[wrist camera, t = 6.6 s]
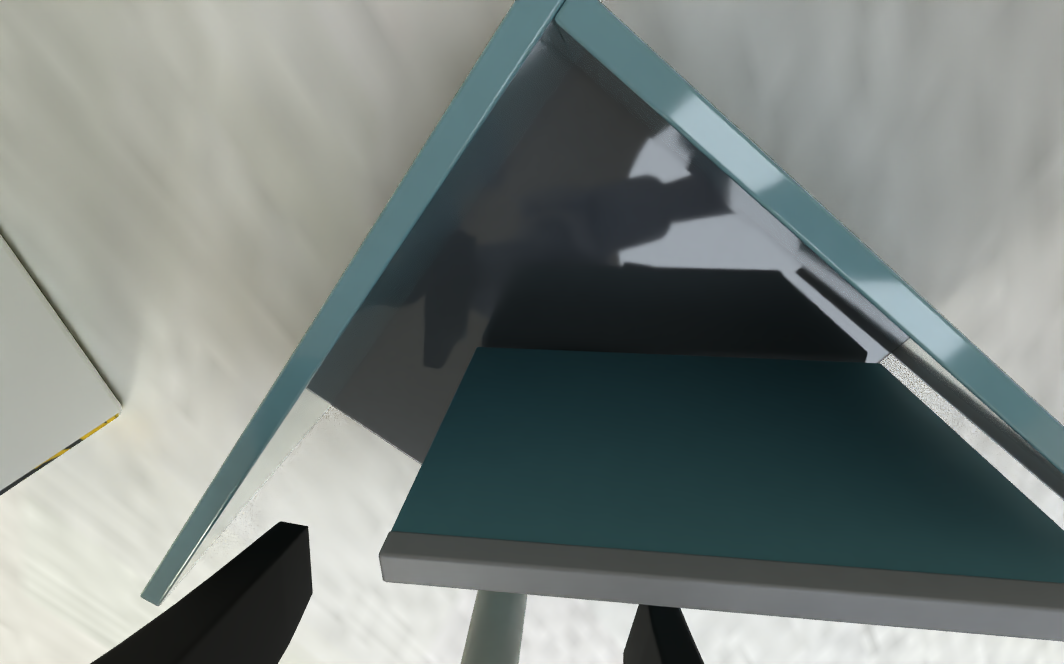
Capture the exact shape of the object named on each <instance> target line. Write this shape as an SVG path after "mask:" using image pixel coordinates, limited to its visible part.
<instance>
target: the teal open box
mask: <svg viewBox="0 0 1064 664" xmlns="http://www.w3.org/2000/svg"><path fill="white" fill-rule="evenodd" d="M477 347H491V348H515V349H540V350H564V351H589V352H613V353H638V354H662V355H687V356H712V357H736V358H761V359H785V360H810V361H834V362H859V363H879V362H880V361H882V360H883V359H884V358H886V357H887V356H888V355H889V354H891V355H892V356H894V357H895V358H896V359H897V360H898V361H900V362H901V363H902V364H903V365H904V366H905V367H907V368H908V369H909V370H910V371H911V372H913V373H914V374H915V375H916V376H917V377H918V378H920V379H921V380H922V381H923V382H924V383H925V384H927V385H928V386H929V387H930V388H931V389H933V390H934V391H935V392H936V393H937V394H938V395H940V396H941V397H942V398H943V399H944V400H946V401H947V402H948V403H949V404H950V405H951V406H953V407H954V408H955V409H956V410H957V411H958V412H960V413H961V414H962V415H963V416H964V417H966V418H967V419H968V420H969V421H970V422H971V423H973V424H974V425H975V426H976V427H977V428H979V429H980V430H981V431H982V432H983V433H984V434H986V435H987V436H988V437H989V438H990V439H992V440H993V441H994V442H995V443H996V444H997V445H999V446H1000V447H1001V448H1002V449H1003V450H1004V451H1006V452H1007V453H1008V454H1009V455H1010V456H1012V457H1013V458H1014V459H1015V460H1016V461H1017V462H1019V463H1020V464H1021V465H1022V466H1023V467H1025V468H1026V469H1027V470H1028V471H1029V472H1030V473H1032V474H1033V475H1034V476H1035V477H1036V478H1037V479H1039V480H1040V481H1041V482H1042V483H1043V484H1045V485H1046V486H1047V487H1048V488H1049V489H1050V490H1052V491H1053V492H1054V493H1055V494H1056V495H1058V496H1059V497H1060V498H1061V499H1062V500H1063V501H1064V426H1063V425H1062V424H1061V423H1060V422H1059V421H1057V420H1056V419H1055V418H1054V417H1053V416H1052V415H1051V414H1050V413H1049V412H1048V411H1047V410H1045V409H1044V408H1043V407H1042V406H1041V405H1040V404H1039V403H1038V402H1037V401H1036V400H1035V399H1033V398H1032V397H1031V396H1030V395H1029V394H1028V393H1027V392H1026V391H1025V390H1024V389H1023V388H1021V387H1020V386H1019V385H1018V384H1017V383H1016V382H1015V381H1014V380H1013V379H1012V378H1011V377H1009V376H1008V375H1007V374H1006V373H1005V372H1004V371H1003V370H1002V369H1001V368H1000V367H999V366H997V365H996V364H995V363H994V362H993V361H992V360H991V359H990V358H989V357H988V356H987V355H985V354H984V353H983V352H982V351H981V350H980V349H979V348H978V347H977V346H976V345H975V344H973V343H972V342H971V341H970V340H969V339H968V338H967V337H966V336H965V335H964V334H962V333H961V332H960V331H959V330H958V329H957V328H956V327H955V326H954V325H953V324H952V323H950V322H949V321H948V320H947V319H946V318H945V317H944V316H943V315H942V314H941V313H940V312H938V311H937V310H936V309H935V308H934V307H933V306H932V305H931V304H930V303H929V302H928V301H926V300H925V299H924V298H923V297H922V296H921V295H920V294H919V293H918V292H917V291H916V290H914V289H913V288H912V287H911V286H910V285H909V284H908V283H907V282H906V281H905V280H904V279H902V278H901V277H900V276H899V275H898V274H897V273H896V272H895V271H894V270H893V269H892V268H890V267H889V266H888V265H887V264H886V263H885V262H884V261H883V260H882V259H881V258H880V257H878V256H877V255H876V254H875V253H874V252H873V251H872V250H871V249H870V248H869V247H868V246H866V245H865V244H864V243H863V242H862V241H861V240H860V239H859V238H858V237H857V236H856V235H854V234H853V233H852V232H851V231H850V230H849V229H848V228H847V227H846V226H845V225H844V224H842V223H841V222H840V221H839V220H838V219H837V218H836V217H835V216H834V215H833V214H832V213H830V212H829V211H828V210H827V209H826V208H825V207H824V206H823V205H822V204H821V203H820V202H818V201H817V200H816V199H815V198H814V197H813V196H812V195H811V194H810V193H809V192H808V191H806V190H805V189H804V188H803V187H802V186H801V185H800V184H799V183H798V182H797V181H796V180H794V179H793V178H792V177H791V176H790V175H789V174H788V173H787V172H786V171H785V170H784V169H782V168H781V167H780V166H779V165H778V164H777V163H776V162H775V161H774V160H773V159H772V158H770V157H769V156H768V155H767V154H766V153H765V152H764V151H763V150H762V149H761V148H759V147H758V146H757V145H756V144H755V143H754V142H753V141H752V140H751V139H750V138H749V137H747V136H746V135H745V134H744V133H743V132H742V131H741V130H740V129H739V128H738V127H737V126H735V125H734V124H733V123H732V122H731V121H730V120H729V119H728V118H727V117H726V116H725V115H723V114H722V113H721V112H720V111H719V110H718V109H717V108H716V107H715V106H714V105H713V104H711V103H710V102H709V101H708V100H707V99H706V98H705V97H704V96H703V95H702V94H701V93H699V92H698V91H697V90H696V89H695V88H694V87H693V86H692V85H691V84H690V83H689V82H687V81H686V80H685V79H684V78H683V77H682V76H681V75H680V74H679V73H678V72H677V71H675V70H674V69H673V68H672V67H671V66H670V65H669V64H668V63H667V62H666V61H665V60H663V59H662V58H661V57H660V56H659V55H658V54H657V53H656V52H655V51H654V50H653V49H651V48H650V47H649V46H648V45H647V44H646V43H645V42H644V41H643V40H642V39H641V38H639V37H638V36H637V35H636V34H635V33H634V32H633V31H632V30H631V29H630V28H629V27H627V26H626V25H625V24H624V23H623V22H622V21H621V20H620V19H619V18H618V17H617V16H615V15H614V14H613V13H612V12H611V11H610V10H609V9H608V8H607V7H606V6H605V5H603V4H602V3H601V2H600V1H599V0H515V1H514V3H513V4H512V6H511V8H510V9H509V11H508V12H507V14H506V15H505V17H504V19H503V20H502V22H501V23H500V25H499V27H498V28H497V30H496V31H495V33H494V34H493V36H492V38H491V39H490V41H489V42H488V44H487V46H486V47H485V49H484V50H483V52H482V54H481V55H480V57H479V58H478V60H477V61H476V63H475V65H474V66H473V68H472V69H471V71H470V73H469V74H468V76H467V77H466V79H465V81H464V82H463V84H462V85H461V87H460V88H459V90H458V92H457V93H456V95H455V96H454V98H453V100H452V101H451V103H450V104H449V106H448V108H447V109H446V111H445V112H444V114H443V115H442V117H441V119H440V120H439V122H438V123H437V125H436V127H435V128H434V130H433V131H432V133H431V135H430V136H429V138H428V139H427V141H426V142H425V144H424V146H423V147H422V149H421V150H420V152H419V154H418V155H417V157H416V158H415V160H414V161H413V163H412V165H411V166H410V168H409V169H408V171H407V173H406V174H405V176H404V177H403V179H402V181H401V182H400V184H399V185H398V187H397V188H396V190H395V192H394V193H393V195H392V196H391V198H390V200H389V201H388V203H387V204H386V206H385V208H384V209H383V211H382V212H381V214H380V215H379V217H378V219H377V220H376V222H375V223H374V225H373V227H372V228H371V230H370V231H369V233H368V235H367V236H366V238H365V239H364V241H363V242H362V244H361V246H360V247H359V249H358V250H357V252H356V254H355V255H354V257H353V258H352V260H351V261H350V263H349V265H348V266H347V268H346V269H345V271H344V273H343V274H342V276H341V277H340V279H339V281H338V282H337V284H336V285H335V287H334V288H333V290H332V292H331V293H330V295H329V296H328V298H327V300H326V301H325V303H324V304H323V306H322V308H321V309H320V311H319V312H318V314H317V315H316V317H315V319H314V320H313V322H312V323H311V325H310V327H309V328H308V330H307V331H306V333H305V335H304V336H303V338H302V339H301V341H300V342H299V344H298V346H297V347H296V349H295V350H294V352H293V354H292V355H291V357H290V358H289V360H288V361H287V363H286V365H285V366H284V368H283V369H282V371H281V373H280V374H279V376H278V377H277V379H276V381H275V382H274V384H273V385H272V387H271V388H270V390H269V392H268V393H267V395H266V396H265V398H264V400H263V401H262V403H261V404H260V406H259V408H258V409H257V411H256V412H255V414H254V415H253V417H252V419H251V420H250V422H249V423H248V425H247V427H246V428H245V430H244V431H243V433H242V435H241V436H240V438H239V439H238V441H237V442H236V444H235V446H234V447H233V449H232V450H231V452H230V454H229V455H228V457H227V458H226V460H225V461H224V463H223V465H222V466H221V468H220V469H219V471H218V473H217V474H216V476H215V477H214V479H213V481H212V482H211V484H210V485H209V487H208V488H207V490H206V492H205V493H204V495H203V496H202V498H201V500H200V501H199V503H198V504H197V506H196V508H195V509H194V511H193V512H192V514H191V515H190V517H189V519H188V520H187V522H186V523H185V525H184V527H183V528H182V530H181V531H180V533H179V535H178V536H177V538H176V539H175V541H174V542H173V544H172V546H171V547H170V549H169V550H168V552H167V554H166V555H165V557H164V558H163V560H162V561H161V563H160V565H159V566H158V568H157V569H156V571H155V573H154V574H153V576H152V577H151V579H150V581H149V582H148V584H147V585H146V587H145V588H144V590H143V592H142V593H141V598H143V599H145V600H147V601H149V602H150V603H152V604H154V605H156V606H159V605H161V604H162V603H163V601H164V600H165V599H166V598H167V597H168V596H169V594H170V593H171V592H172V591H173V590H174V589H175V587H176V586H177V585H178V584H179V583H180V582H181V580H182V579H183V578H184V577H185V576H186V575H187V573H188V572H189V571H190V570H191V569H192V568H193V566H194V565H195V564H196V563H197V562H198V561H199V559H200V558H201V557H202V556H203V555H204V554H205V552H206V551H207V550H208V549H209V548H210V547H211V545H212V544H213V543H214V542H215V541H216V540H217V538H218V537H219V536H220V535H221V534H222V533H223V531H224V530H225V529H226V528H227V527H228V525H229V524H230V523H231V522H232V521H233V520H234V518H235V517H236V516H237V515H238V514H239V513H240V511H241V510H242V509H243V508H244V507H245V506H246V504H247V503H248V502H249V501H250V500H251V499H252V497H253V496H254V495H255V494H256V493H257V492H258V490H259V489H260V488H261V487H262V486H263V485H264V483H265V482H266V481H267V480H268V479H269V478H270V476H271V475H272V474H273V473H274V472H275V471H276V469H277V468H278V467H279V466H280V465H281V464H282V462H283V461H284V460H285V459H286V458H287V457H288V455H289V454H290V453H291V452H292V451H293V450H294V448H295V447H296V446H297V445H298V444H299V443H300V441H301V440H302V439H303V438H304V437H305V435H306V434H307V433H308V432H309V431H310V430H311V428H312V427H313V426H314V425H315V424H316V423H317V421H318V420H319V419H320V418H321V417H322V416H323V414H324V413H325V412H326V411H327V410H328V409H329V407H330V406H331V405H332V406H333V407H335V408H336V409H338V410H339V411H341V412H342V413H344V414H345V415H347V416H348V417H350V418H351V419H353V420H354V421H356V422H357V423H359V424H360V425H362V426H363V427H365V428H367V429H368V430H370V431H371V432H373V433H374V434H376V435H377V436H379V437H380V438H382V439H383V440H385V441H386V442H388V443H389V444H391V445H392V446H394V447H395V448H397V449H398V450H400V451H401V452H403V453H404V454H406V455H407V456H409V457H410V458H412V459H413V460H415V461H416V462H418V463H419V464H421V465H422V464H423V462H424V459H425V457H426V455H427V453H428V451H429V449H430V447H431V444H432V442H433V440H434V438H435V436H436V434H437V432H438V429H439V427H440V425H441V423H442V421H443V419H444V417H445V414H446V412H447V410H448V408H449V406H450V404H451V402H452V399H453V397H454V395H455V393H456V391H457V389H458V387H459V384H460V382H461V380H462V378H463V376H464V374H465V372H466V369H467V367H468V365H469V363H470V361H471V359H472V357H473V354H474V352H475V350H476V348H477Z"/></svg>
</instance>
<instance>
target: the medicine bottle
mask: <svg viewBox="0 0 1064 664" xmlns="http://www.w3.org/2000/svg"><path fill="white" fill-rule="evenodd" d="M121 411H122V408H121V404H120V403H119V401H118V400H117V399H116V397H115V396H114V394H113V393H112V392H111V390H110V389H109V387H108V386H107V384H106V383H105V382H104V380H103V379H102V377H101V376H100V375H99V373H98V372H97V370H96V369H95V367H94V366H93V365H92V363H91V362H90V360H89V359H88V358H87V356H86V355H85V353H84V352H83V350H82V349H81V348H80V346H79V345H78V343H77V342H76V341H75V339H74V338H73V336H72V335H71V333H70V332H69V331H68V329H67V328H66V326H65V325H64V324H63V322H62V321H61V319H60V318H59V316H58V315H57V314H56V312H55V311H54V309H53V308H52V307H51V305H50V304H49V302H48V301H47V299H46V298H45V297H44V295H43V294H42V292H41V291H40V290H39V288H38V287H37V285H36V284H35V282H34V281H33V280H32V278H31V277H30V275H29V274H28V273H27V271H26V270H25V268H24V267H23V265H22V264H21V263H20V261H19V260H18V258H17V257H16V256H15V254H14V253H13V251H12V250H11V248H10V247H9V246H8V244H7V243H6V241H5V240H4V239H3V237H2V236H1V234H0V495H2V494H3V493H5V492H6V491H8V490H9V489H11V488H12V487H14V486H15V485H17V484H18V483H20V482H21V481H23V480H24V479H26V478H27V477H29V476H30V475H32V474H33V473H35V472H36V471H38V470H39V469H41V468H42V467H44V466H45V465H47V464H48V463H50V462H51V461H53V460H54V459H56V458H57V457H59V456H60V455H62V454H63V453H65V452H66V451H68V450H69V449H71V448H72V447H74V446H75V445H77V444H78V443H80V442H81V441H83V440H84V439H86V438H87V437H89V436H90V435H92V434H93V433H95V432H96V431H98V430H99V429H101V428H102V427H104V426H105V425H107V424H108V423H110V422H111V421H113V420H114V419H116V418H117V417H118V416H119V415H120V414H121Z"/></svg>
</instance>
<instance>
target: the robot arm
mask: <svg viewBox="0 0 1064 664" xmlns="http://www.w3.org/2000/svg"><path fill="white" fill-rule="evenodd" d="M312 593H313V592H312V577H311V562H310V547H309V533H308V526H303V525H297V524H292V523H287V522H279V523H277V524H276V525H275V526H273V527H272V528H271V529H270V530H268V531H267V532H266V533H265V534H263V535H262V536H261V537H260V538H258V539H257V540H256V541H255V542H254V543H252V544H251V545H250V546H249V547H247V548H246V549H245V550H244V551H242V552H241V553H240V554H239V555H237V556H236V557H235V558H234V559H232V560H231V561H230V562H229V563H227V564H226V565H225V566H224V567H222V568H221V569H220V570H219V571H217V572H216V573H215V574H214V575H212V576H211V577H210V578H208V579H207V580H206V581H204V582H203V583H202V584H201V585H199V586H198V587H197V588H195V589H194V590H193V591H191V592H190V593H189V594H187V595H186V596H185V597H184V598H182V599H181V600H180V601H178V602H177V603H176V604H174V605H173V606H172V607H170V608H169V609H168V610H166V611H165V612H164V613H162V614H161V615H159V616H158V617H157V618H155V619H154V620H152V621H151V622H150V623H148V624H147V625H145V626H144V627H143V628H141V629H140V630H138V631H137V632H136V633H134V634H133V635H131V636H130V637H129V638H127V639H126V640H124V641H123V642H122V643H120V644H119V645H117V646H116V647H114V648H113V649H111V650H110V651H108V652H107V653H105V654H104V655H102V656H101V657H99V658H98V659H97V660H95V661H93V662H92V663H90V664H278V662H279V661H280V659H281V657H282V655H283V654H284V652H285V650H286V648H287V647H288V645H289V643H290V641H291V639H292V637H293V635H294V633H295V630H296V628H297V626H298V624H299V622H300V620H301V618H302V615H303V613H304V611H305V609H306V606H307V604H308V602H309V600H310V597H311V595H312ZM623 664H704V662H703V660H702V658H701V655H700V653H699V651H698V649H697V647H696V644H695V642H694V640H693V637H692V635H691V633H690V630H689V628H688V626H687V623H686V621H685V618H684V616H683V614H682V611H681V609H680V608H678V607H666V606H655V605H643V604H639V606H638V609H637V612H636V615H635V619H634V622H633V625H632V628H631V631H630V634H629V637H628V640H627V643H626V647H625V650H624V653H623Z"/></svg>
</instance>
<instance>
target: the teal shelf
mask: <svg viewBox="0 0 1064 664" xmlns="http://www.w3.org/2000/svg"><path fill="white" fill-rule="evenodd" d="M379 560H380V566H381V571H382V577H383V580H384V581H385V582H393V583H404V584H416V585H427V586H439V587H450V588H461V589H473V590H478V592H477V596H476V601H475V605H474V609H473V613H472V618H471V622H470V626H469V631H468V635H467V639H466V644H465V648H464V652H463V656H462V661H461V664H518V662H519V655H520V647H521V639H522V632H523V624H524V616H525V609H526V601H527V594H530V595H541V596H552V597H564V598H575V599H586V600H598V601H609V602H621V603H632V604H643V605H655V606H666V607H678V608H689V609H700V610H712V611H723V612H734V613H746V614H757V615H769V616H780V617H791V618H803V619H814V620H825V621H837V622H848V623H860V624H871V625H882V626H894V627H905V628H916V629H928V630H939V631H951V632H962V633H973V634H985V635H996V636H1007V637H1019V638H1030V639H1042V640H1053V641H1064V530H1063V529H1061V528H1060V527H1059V526H1058V525H1057V524H1056V523H1055V522H1054V521H1053V520H1052V519H1050V518H1049V517H1048V516H1047V515H1046V514H1045V513H1044V512H1043V511H1042V510H1041V509H1039V508H1038V507H1037V506H1036V505H1035V504H1034V503H1033V502H1032V501H1031V500H1030V499H1029V498H1027V497H1026V496H1025V495H1024V494H1023V493H1022V492H1021V491H1020V490H1019V489H1018V488H1016V487H1015V486H1014V485H1013V484H1012V483H1011V482H1010V481H1009V480H1008V479H1007V478H1005V477H1004V476H1003V475H1002V474H1001V473H1000V472H999V471H998V470H997V469H996V468H995V467H993V466H992V465H991V464H990V463H989V462H988V461H987V460H986V459H985V458H984V457H982V456H981V455H980V454H979V453H978V452H977V451H976V450H975V449H974V448H973V447H971V446H970V445H969V444H968V443H967V442H966V441H965V440H964V439H963V438H962V437H960V436H959V435H958V434H957V433H956V432H955V431H954V430H953V429H952V428H951V427H950V426H948V425H947V424H946V423H945V422H944V421H943V420H942V419H941V418H940V417H939V416H937V415H936V414H935V413H934V412H933V411H932V410H931V409H930V408H929V407H928V406H926V405H925V404H924V403H923V402H922V401H921V400H920V399H919V398H918V397H917V396H916V395H914V394H913V393H912V392H911V391H910V390H909V389H908V388H907V387H906V386H905V385H903V384H902V383H901V382H900V381H899V380H898V379H897V378H896V377H895V376H894V375H892V374H891V373H890V372H889V371H888V370H887V369H886V368H885V367H884V366H883V365H881V364H880V363H859V362H834V361H810V360H785V359H761V358H736V357H712V356H687V355H662V354H638V353H613V352H589V351H564V350H540V349H515V348H491V347H477V348H476V350H475V352H474V354H473V357H472V359H471V361H470V363H469V365H468V367H467V369H466V372H465V374H464V376H463V378H462V380H461V382H460V384H459V387H458V389H457V391H456V393H455V395H454V397H453V399H452V402H451V404H450V406H449V408H448V410H447V412H446V414H445V417H444V419H443V421H442V423H441V425H440V427H439V429H438V432H437V434H436V436H435V438H434V440H433V442H432V444H431V447H430V449H429V451H428V453H427V455H426V457H425V459H424V462H423V464H422V466H421V468H420V470H419V472H418V474H417V477H416V479H415V481H414V483H413V485H412V487H411V489H410V492H409V494H408V496H407V498H406V500H405V502H404V504H403V507H402V509H401V511H400V513H399V515H398V517H397V519H396V522H395V524H394V526H393V528H392V530H391V532H389V533H388V535H387V538H386V540H385V542H384V544H383V546H382V548H381V550H380V553H379Z"/></svg>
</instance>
